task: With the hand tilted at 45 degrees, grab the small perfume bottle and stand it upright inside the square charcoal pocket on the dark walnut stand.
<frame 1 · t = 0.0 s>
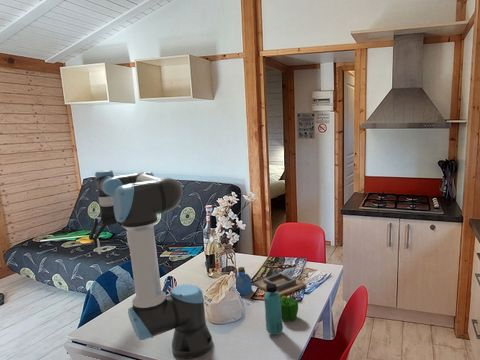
hand: (114, 249, 168), 28 cm above the table, tool pointing down, fingers open, 13 cm apart
bell pepper: (288, 318, 152), on the table
walnut stand: (279, 285, 181), on the table
perfume bottle: (243, 292, 178), on the table
beverage bottle: (274, 333, 142), on the table
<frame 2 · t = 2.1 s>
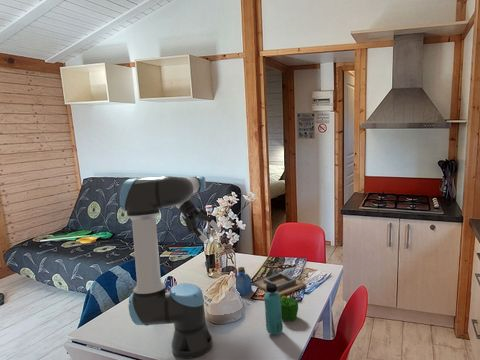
hand: (213, 235, 178), 28 cm above the table, tool tilted 45°, fingers open, 13 cm apart
nothing on the table moved.
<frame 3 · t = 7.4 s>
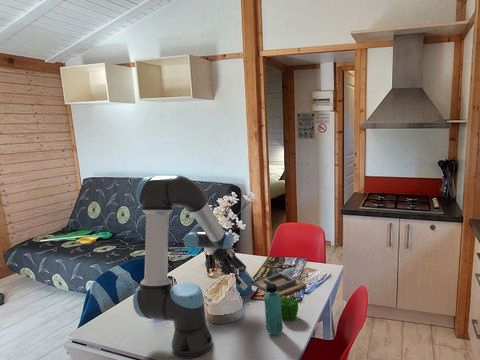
hand: (249, 284, 176), 4 cm above the table, tool tilted 45°, fingers closed on perfume bottle, 7 cm apart
perfume bottle: (243, 291, 178), on the table, touching gripper
everything else where it was.
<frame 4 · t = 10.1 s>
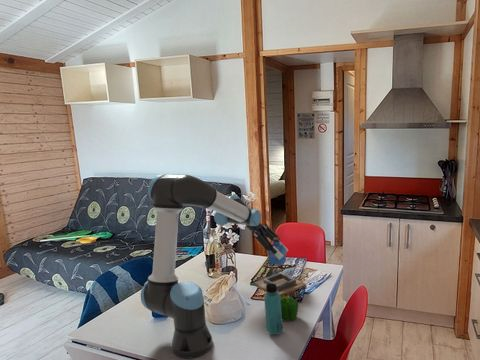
hand: (284, 254, 177), 16 cm above the table, tool tilted 45°, fingers closed on perfume bottle, 7 cm apart
perfume bottle: (277, 262, 179), point 12 cm above the table, touching gripper
everything else where it was.
when the fingers open (6 cm above the table, at t = 12.8 s): perfume bottle stays where it is, resting on walnut stand.
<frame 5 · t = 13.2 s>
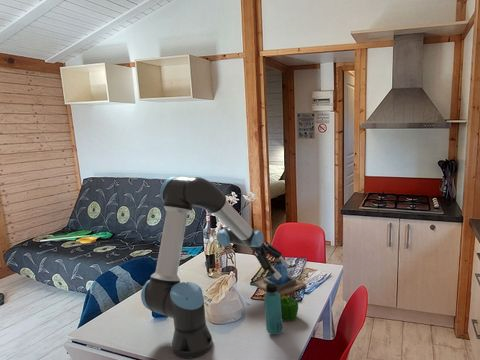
hand: (284, 272, 178), 7 cm above the table, tool tilted 45°, fingers open, 11 cm apart
perfume bottle: (279, 283, 181), point 1 cm above the table, touching walnut stand
everything else where it was.
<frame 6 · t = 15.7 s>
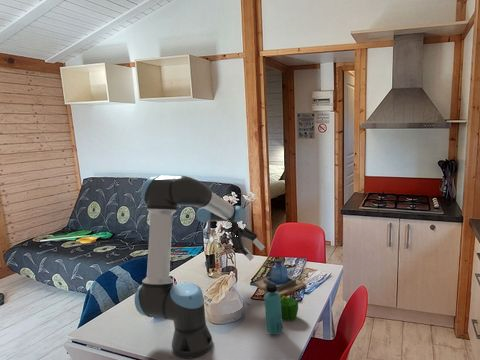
hand: (257, 253, 183), 16 cm above the table, tool tilted 45°, fingers open, 13 cm apart
nothing on the table moved.
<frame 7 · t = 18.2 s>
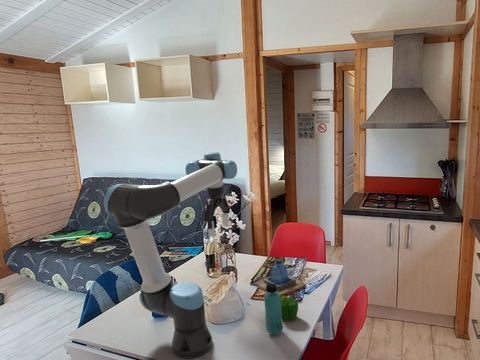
hand: (219, 230, 172), 32 cm above the table, tool pointing down, fingers open, 13 cm apart
nothing on the table moved.
at the end: perfume bottle 0.1 cm off-centre on the walnut stand, point 1.3 cm above the walnut stand's base; perfume bottle tilted 0°; the gripper is holding nothing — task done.
